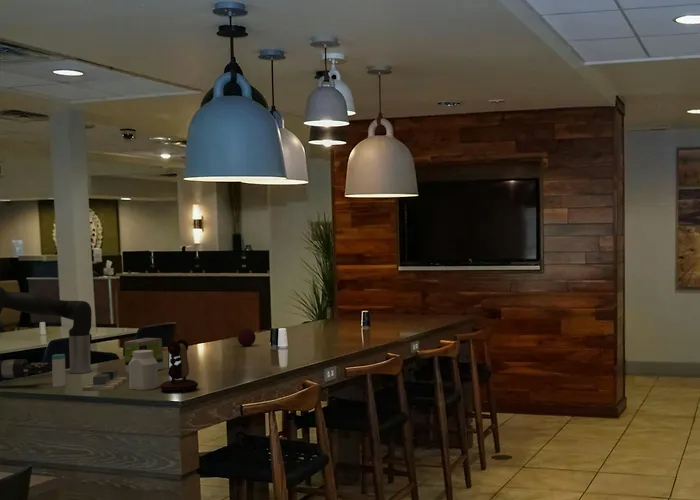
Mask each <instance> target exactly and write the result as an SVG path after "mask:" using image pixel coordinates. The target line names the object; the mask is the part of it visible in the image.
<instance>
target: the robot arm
mask: <svg viewBox="0 0 700 500" xmlns="http://www.w3.org/2000/svg"><path fill="white" fill-rule="evenodd" d="M3 309H10V310H13V311H17V312H21V313H26V314H30V315H37V316H38V315H39V316H57V317H59V318H64V319H67V320H71V321H73V322H72V327H71V328H70V329H69V330H68V340H69V341H68V347H69V373H70V374H87V373H91V371H92V367H91V362H92V361H91V329H92V315H93V314H92V313H93V311H92V307H91V305H90V303H89V302H87V301H85V300H63V299H57V298H53V297H52V296H49V295H45V294H41V293H34V292H25V291H24V292H21V291H14V292H13V291H6V290H5V288H3V286H0V315H1V313H2V311H3ZM51 370H52V362H51V363H49V362H48V361H46V362H31V363H29V361H28V359H25V358H23V359H6V360H0V378H6V379H7V378H9V379H10V378H26V377H28V375H29V374H38V373H49V372H52V371H51Z"/></svg>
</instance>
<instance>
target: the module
mask: <svg viewBox="0 0 700 500" xmlns="http://www.w3.org/2000/svg"><path fill="white" fill-rule="evenodd" d="M51 363H52V369H51V370H52V371H51V372H52V388H53V387H56V388H57V387H60V388H61V387H64V386H66V384H67V383H66V353H61V354H60V353H58V354H57V353H55V354H53V355H51Z"/></svg>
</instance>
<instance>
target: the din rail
mask: <svg viewBox="0 0 700 500" xmlns="http://www.w3.org/2000/svg"><path fill="white" fill-rule="evenodd" d="M119 377H120V375H119V374H118V369H117V368H116V369H105V370H103V371H102V372H101V373H100V374H99V373H98V374H96V375H94V376H93V377H92V382H93V385H92V387H105V386H106V385H108V384H109V383H111V382H113V381H114V380H116V379H117V378H119Z"/></svg>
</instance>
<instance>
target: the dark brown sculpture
mask: <svg viewBox="0 0 700 500" xmlns="http://www.w3.org/2000/svg"><path fill="white" fill-rule="evenodd" d="M188 350H189V343H188V341H186V340H185V339H183V338H181V339H178V340H177V341H174V340H173V341H171V342H170V343H168V345H167V352H168V353H169V355H170V360H169V363H170V366H169V368H168V375H169V377H170V378H171V380H166V381H164V382H162V383H161V384H160V386H159V387H160V389H161V392H162V393H164V392H165V391H167V390H168V391H178V390H179V391H180V390H181V391H183V393H184V392H185V393H186V392H187V390H190V389H195V388H196V389H197V387H198V386H199V382H197V381H195V380H193V379H187V377H188V376H189V374H190V366H189V365H190V364H189V360H188ZM177 362H179V363H178V364H176V363H177Z"/></svg>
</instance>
